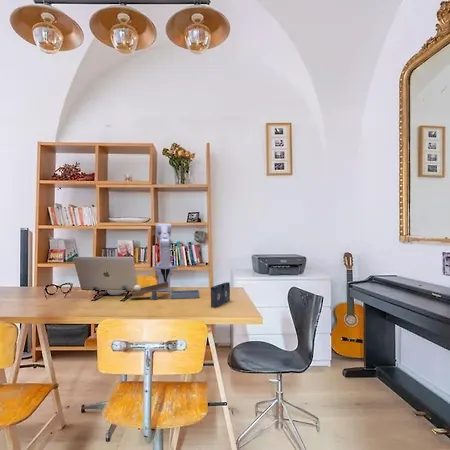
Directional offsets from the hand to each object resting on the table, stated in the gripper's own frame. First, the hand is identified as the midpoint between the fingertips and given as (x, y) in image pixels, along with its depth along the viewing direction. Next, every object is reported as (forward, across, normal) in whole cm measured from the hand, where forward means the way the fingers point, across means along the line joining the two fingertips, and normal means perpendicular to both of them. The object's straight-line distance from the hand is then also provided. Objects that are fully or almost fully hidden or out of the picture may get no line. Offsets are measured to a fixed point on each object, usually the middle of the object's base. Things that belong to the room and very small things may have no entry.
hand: (165, 281), depth 204 cm
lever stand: (+8, -6, -10) cm, 14 cm away
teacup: (+8, -31, +6) cm, 33 cm away
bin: (+8, +11, -10) cm, 16 cm away
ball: (+2, -15, -10) cm, 18 cm away
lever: (+4, -8, -5) cm, 10 cm away
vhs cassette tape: (+8, +29, -30) cm, 43 cm away
